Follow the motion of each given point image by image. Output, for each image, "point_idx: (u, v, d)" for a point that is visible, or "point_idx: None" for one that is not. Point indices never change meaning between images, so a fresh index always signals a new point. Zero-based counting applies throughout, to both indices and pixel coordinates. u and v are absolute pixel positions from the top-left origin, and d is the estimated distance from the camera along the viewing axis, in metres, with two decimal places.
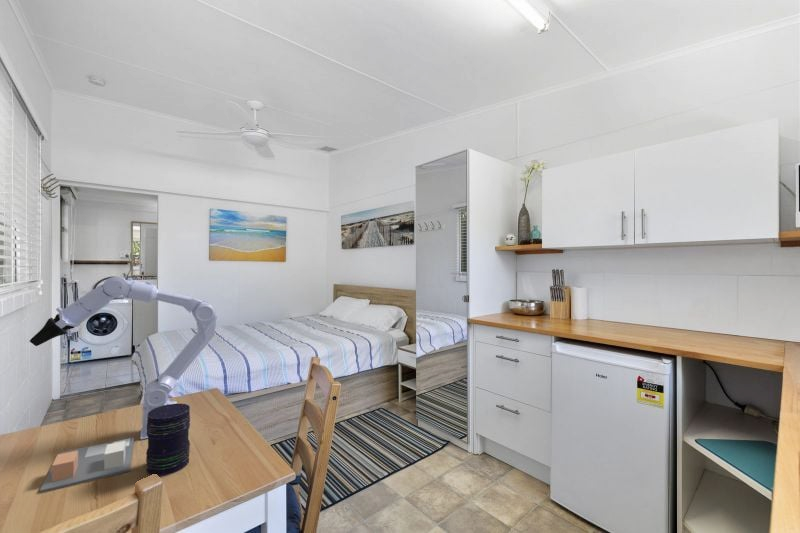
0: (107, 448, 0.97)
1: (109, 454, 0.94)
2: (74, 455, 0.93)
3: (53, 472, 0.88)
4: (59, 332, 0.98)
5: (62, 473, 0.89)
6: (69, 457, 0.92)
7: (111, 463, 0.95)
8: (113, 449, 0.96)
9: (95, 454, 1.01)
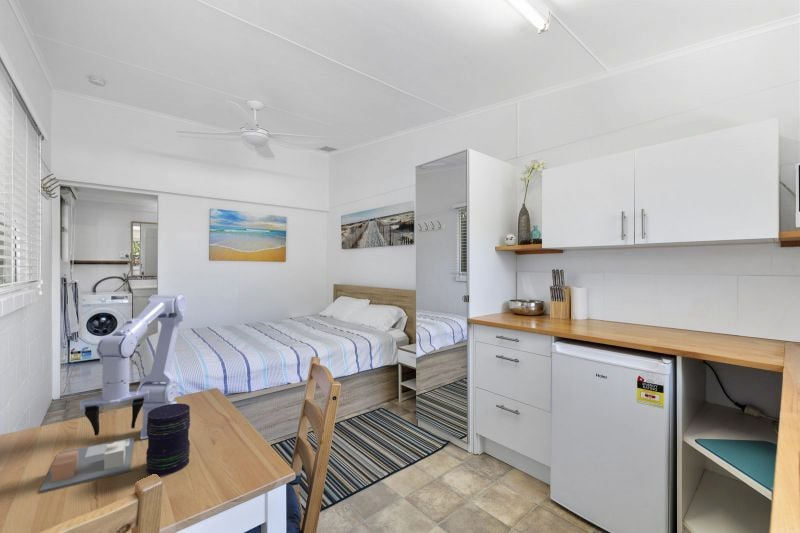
0: (107, 448, 0.97)
1: (109, 454, 0.94)
2: (74, 455, 0.93)
3: (53, 472, 0.88)
4: None
5: (62, 473, 0.89)
6: (69, 457, 0.92)
7: (111, 463, 0.95)
8: (113, 449, 0.96)
9: (95, 454, 1.01)
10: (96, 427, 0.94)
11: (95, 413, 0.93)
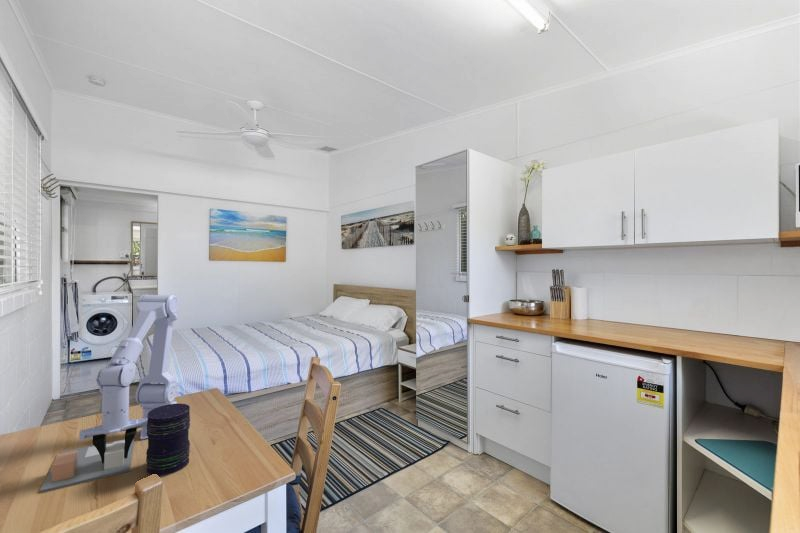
0: (107, 448, 0.97)
1: (109, 454, 0.94)
2: (74, 455, 0.93)
3: (53, 472, 0.88)
4: None
5: (62, 473, 0.89)
6: (69, 457, 0.92)
7: (111, 463, 0.95)
8: (113, 449, 0.96)
9: (95, 454, 1.01)
10: (103, 455, 0.95)
11: (102, 442, 0.94)
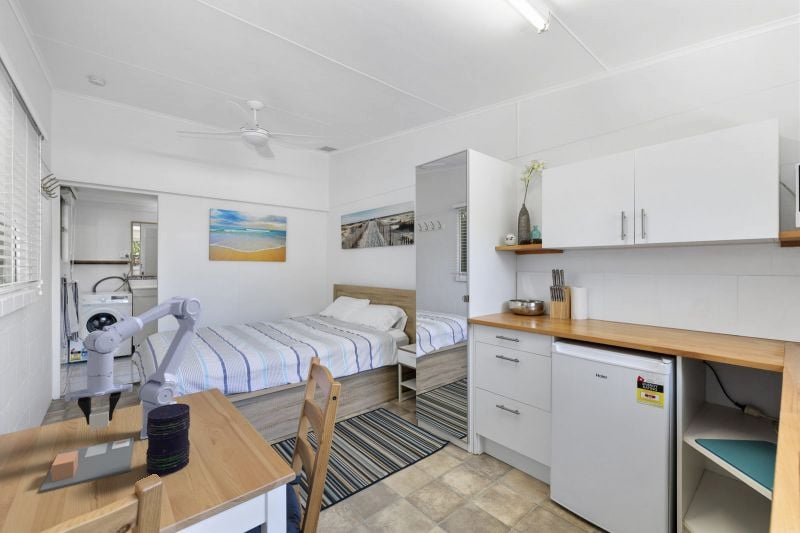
0: (92, 411, 1.01)
1: (94, 416, 0.99)
2: (74, 455, 0.93)
3: (53, 472, 0.88)
4: None
5: (62, 473, 0.89)
6: (69, 457, 0.92)
7: (96, 425, 0.99)
8: (98, 412, 1.00)
9: (95, 454, 1.01)
10: (88, 417, 0.99)
11: (87, 403, 0.98)
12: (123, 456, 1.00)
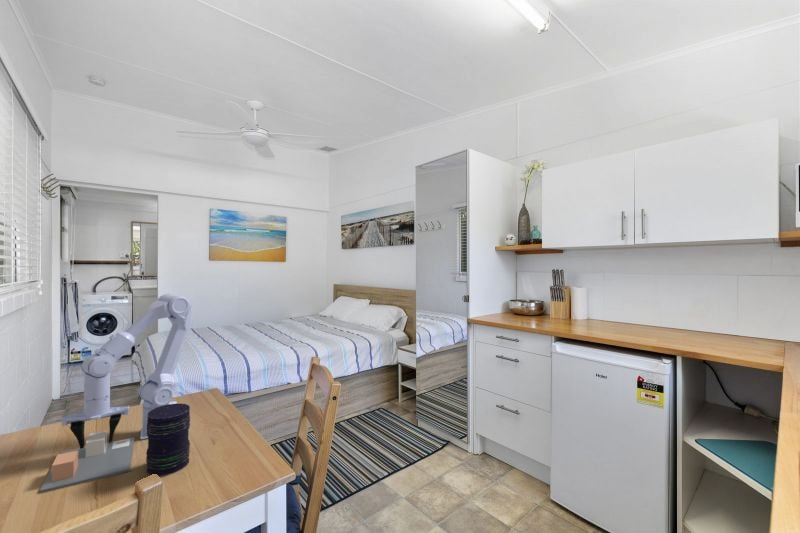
0: (89, 437, 1.02)
1: (90, 443, 1.00)
2: (74, 455, 0.93)
3: (53, 472, 0.88)
4: None
5: (62, 473, 0.89)
6: (69, 457, 0.92)
7: (92, 451, 1.00)
8: (94, 438, 1.02)
9: None
10: (81, 441, 1.00)
11: (80, 428, 0.99)
12: (123, 456, 1.00)
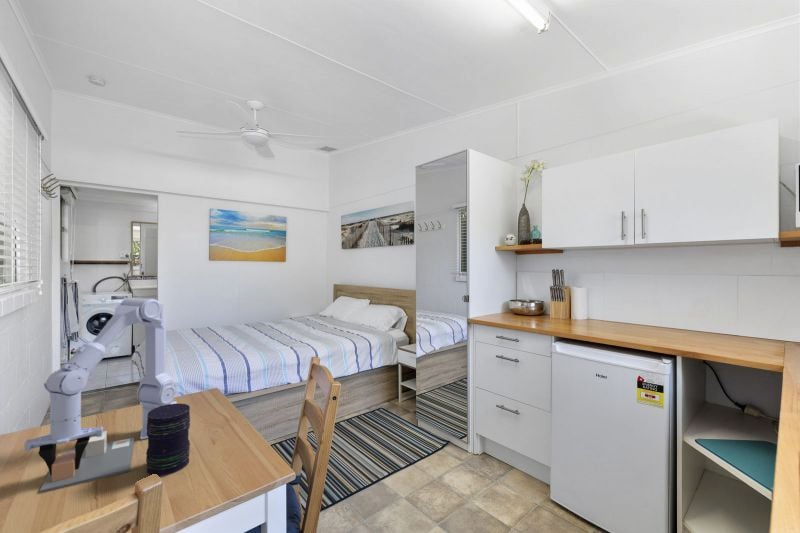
0: None
1: (90, 443, 1.00)
2: (74, 455, 0.93)
3: (53, 472, 0.88)
4: None
5: (62, 473, 0.89)
6: (69, 457, 0.92)
7: (92, 451, 1.00)
8: (94, 438, 1.02)
9: None
10: (51, 466, 0.89)
11: (50, 452, 0.88)
12: (123, 456, 1.00)
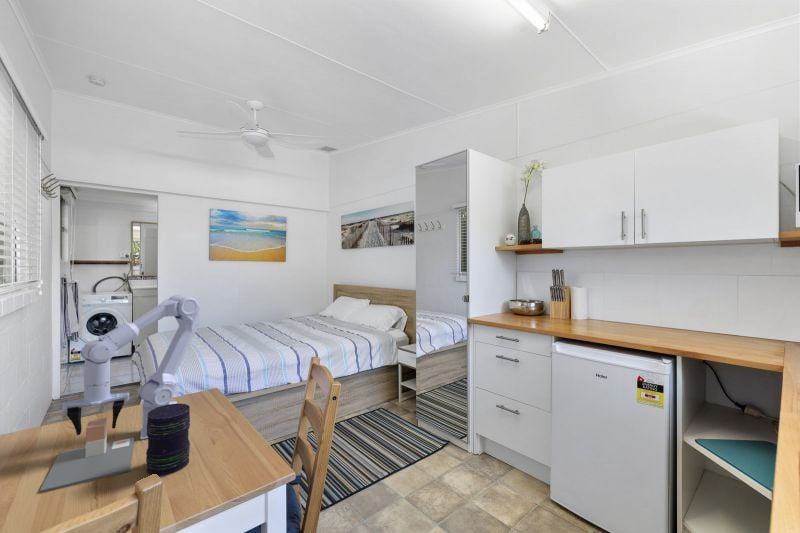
0: None
1: (90, 443, 1.00)
2: (104, 420, 1.04)
3: (87, 434, 0.99)
4: None
5: (95, 435, 1.00)
6: (100, 422, 1.03)
7: (92, 451, 1.00)
8: None
9: None
10: (78, 427, 1.00)
11: (77, 414, 0.98)
12: (123, 456, 1.00)
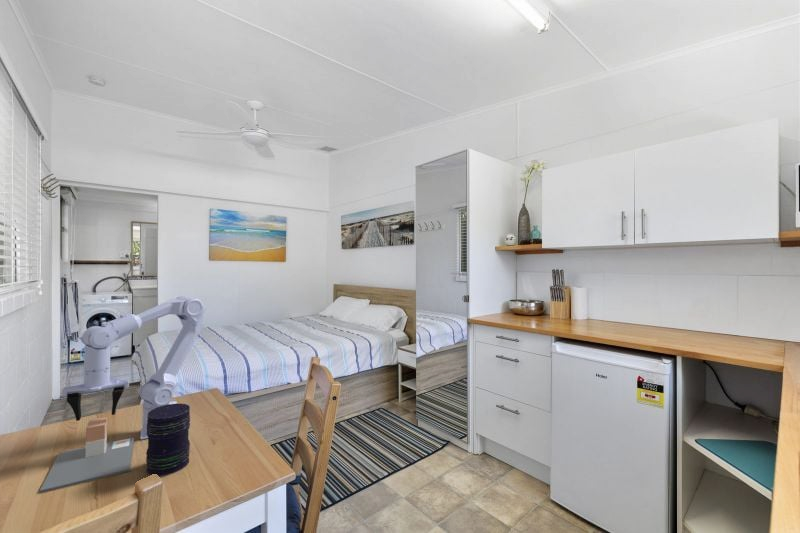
0: None
1: (90, 443, 1.00)
2: (104, 420, 1.04)
3: (87, 434, 0.99)
4: None
5: (95, 435, 1.00)
6: (100, 422, 1.03)
7: (92, 451, 1.00)
8: None
9: None
10: (77, 413, 0.99)
11: (76, 399, 0.98)
12: (123, 456, 1.00)
